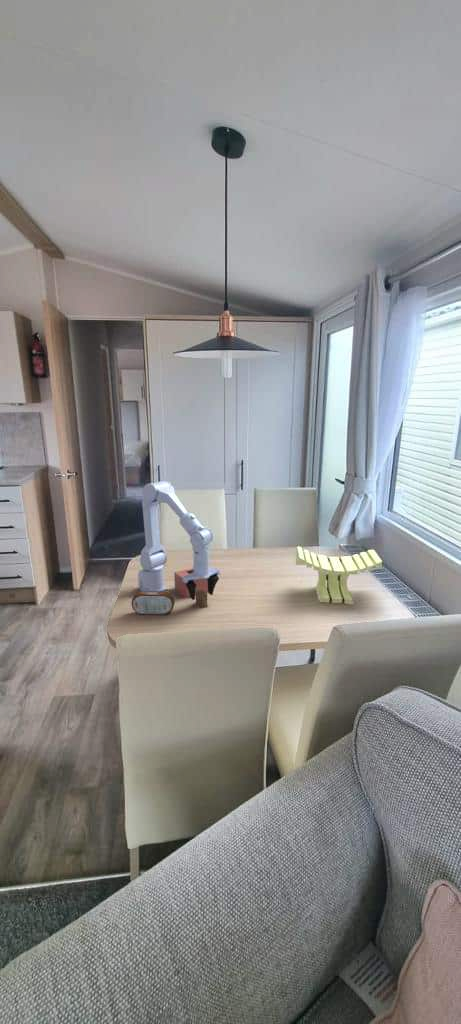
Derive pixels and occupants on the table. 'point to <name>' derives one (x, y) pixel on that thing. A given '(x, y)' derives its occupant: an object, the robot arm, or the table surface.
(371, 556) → the slatted curved stool
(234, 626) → the table surface
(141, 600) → the tin
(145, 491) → the robot arm
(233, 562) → the table surface
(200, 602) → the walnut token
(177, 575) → the money box
